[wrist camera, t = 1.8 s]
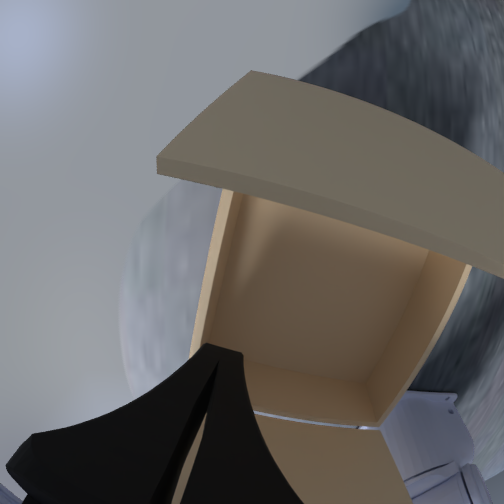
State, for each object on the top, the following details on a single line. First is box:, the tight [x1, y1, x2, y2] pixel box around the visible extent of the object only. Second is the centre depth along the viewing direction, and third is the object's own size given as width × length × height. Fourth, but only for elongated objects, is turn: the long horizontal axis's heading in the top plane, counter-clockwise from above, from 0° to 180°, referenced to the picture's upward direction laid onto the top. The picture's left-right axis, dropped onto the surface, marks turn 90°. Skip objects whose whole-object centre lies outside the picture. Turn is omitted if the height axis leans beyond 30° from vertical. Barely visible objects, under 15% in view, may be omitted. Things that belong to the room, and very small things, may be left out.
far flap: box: [171, 413, 413, 504], centre depth 12 cm, size 14×8×1 cm
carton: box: [189, 189, 472, 427], centre depth 16 cm, size 14×18×5 cm
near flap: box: [157, 70, 504, 279], centre depth 8 cm, size 14×8×1 cm
